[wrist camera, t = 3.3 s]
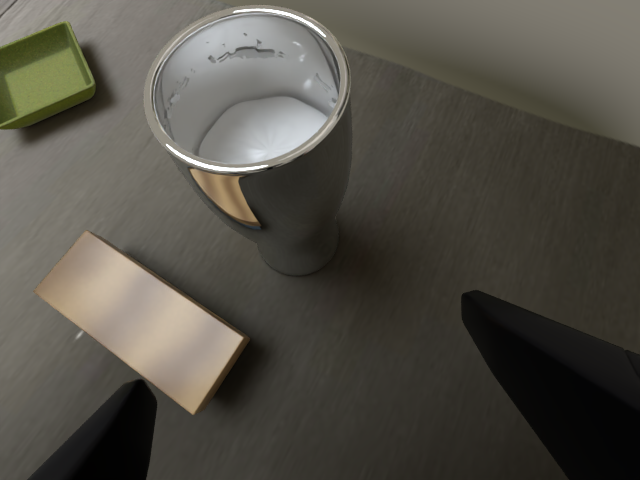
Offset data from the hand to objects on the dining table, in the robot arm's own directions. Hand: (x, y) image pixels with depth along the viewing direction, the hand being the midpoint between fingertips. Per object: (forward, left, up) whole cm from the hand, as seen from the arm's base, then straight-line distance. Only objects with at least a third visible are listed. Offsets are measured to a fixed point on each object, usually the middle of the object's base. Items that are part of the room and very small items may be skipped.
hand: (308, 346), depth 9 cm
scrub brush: (+11, +2, -14) cm, 18 cm away
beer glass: (+5, -7, -14) cm, 16 cm away
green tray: (+31, -12, -14) cm, 36 cm away
